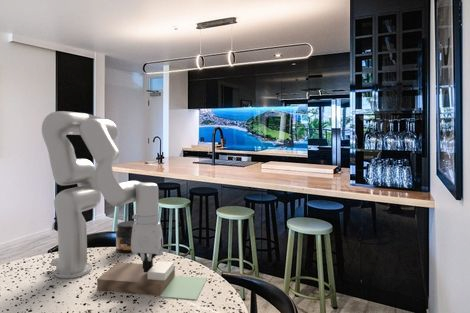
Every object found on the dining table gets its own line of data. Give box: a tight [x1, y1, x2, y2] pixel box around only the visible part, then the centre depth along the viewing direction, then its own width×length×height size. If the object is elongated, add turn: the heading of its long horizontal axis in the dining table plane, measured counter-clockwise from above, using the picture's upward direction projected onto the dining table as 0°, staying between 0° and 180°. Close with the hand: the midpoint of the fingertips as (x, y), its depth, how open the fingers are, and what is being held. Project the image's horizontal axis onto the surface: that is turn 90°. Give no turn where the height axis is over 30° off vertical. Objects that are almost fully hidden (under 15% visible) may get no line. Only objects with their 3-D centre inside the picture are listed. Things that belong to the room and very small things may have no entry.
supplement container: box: [115, 220, 135, 254], centre depth 142 cm, size 10×10×12 cm
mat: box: [159, 275, 208, 301], centre depth 108 cm, size 12×15×1 cm
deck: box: [96, 261, 176, 297], centre depth 110 cm, size 22×14×4 cm, turn 82°
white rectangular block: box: [148, 260, 175, 280], centre depth 109 cm, size 6×9×2 cm, turn 172°
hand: (147, 270), depth 109 cm, fingers closed
